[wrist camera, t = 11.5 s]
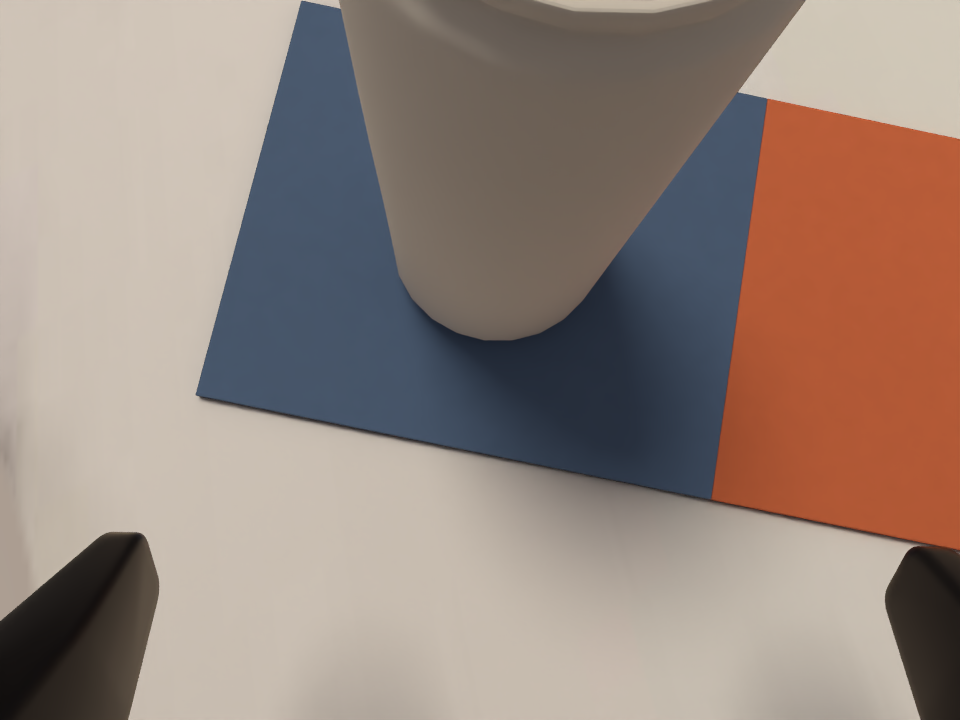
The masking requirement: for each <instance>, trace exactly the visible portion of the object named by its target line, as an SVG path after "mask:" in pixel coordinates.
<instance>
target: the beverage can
mask: <svg viewBox="0 0 960 720" xmlns="http://www.w3.org/2000/svg"><path fill="white" fill-rule="evenodd" d="M804 2H805V0H339V3H340V7H341V12H342V17H343V22H344V26H345V31H346V36H347V41H348V45H349V50H350V55H351V60H352V64H353V69H354V74H355V79H356V83H357V88H358V93H359V97H360V102H361V106H362V111H363V116H364V120H365V125H366V129H367V134H368V138H369V143H370V147H371V151H372V155H373V160H374V164H375V168H376V173H377V177H378V181H379V185H380V190H381V194H382V198H383V203H384V207H385V212H386V216H387V221H388V225H389V230H390V234H391V239H392V244H393V249H394V254H395V259H396V264H397V269H398V274H399V276H400V278H401V280H402V282H403V284H404V285H405V287H406V289H407V291H408V293H409V294H410V296H411V298H412V300H413V301H414V302H415V303H416V304H417V305H418V306H419V307H420V308H421V309H422V310H424V311H425V312H426V313H427V314H428V315H429V316H430V317H431V318H432V319H433V320H435V321H437V322H438V323H440V324H442V325H444V326H445V327H447V328H449V329H451V330H452V331H454V332H456V333H459V334H463V335H466V336H470V337H474V338H477V339H481V340H516V339H520V338H524V337H527V336H531V335H535V334H539V333H541V332H543V331H545V330H546V329H548V328H550V327H552V326H553V325H555V324H557V323H559V322H560V321H562V320H564V319H565V318H566V317H567V316H568V315H569V314H570V313H571V312H572V311H573V310H574V309H575V308H576V307H577V306H578V305H579V304H580V303H581V302H582V301H583V299H584V298H585V297H586V295H587V294H588V293H589V291H590V290H591V289H592V287H593V286H594V285H595V283H596V282H597V281H598V279H599V278H600V277H601V275H602V274H603V272H604V271H605V270H606V268H607V267H608V266H609V264H610V263H611V262H612V260H613V259H614V258H615V256H616V255H617V254H618V252H619V251H620V250H621V248H622V247H623V246H624V244H625V243H626V242H627V240H628V239H629V237H630V236H631V235H632V233H633V232H634V231H635V229H636V228H637V227H638V225H639V224H640V223H641V221H642V220H643V219H644V217H645V216H646V215H647V213H648V212H649V211H650V209H651V208H652V207H653V205H654V204H655V203H656V201H657V200H658V198H659V197H660V196H661V194H662V193H663V192H664V190H665V189H666V188H667V186H668V185H669V184H670V182H671V181H672V180H673V178H674V177H675V176H676V174H677V173H678V172H679V170H680V169H681V168H682V166H683V165H684V163H685V162H686V161H687V159H688V158H689V157H690V155H691V154H692V153H693V151H694V150H695V149H696V147H697V146H698V145H699V143H700V142H701V141H702V139H703V138H704V137H705V135H706V134H707V133H708V131H709V130H710V129H711V127H712V126H713V124H714V123H715V122H716V120H717V119H718V118H719V116H720V115H721V114H722V112H723V111H724V110H725V108H726V107H727V106H728V104H729V103H730V102H731V100H732V99H733V98H734V96H735V95H736V94H737V92H738V91H739V89H740V88H741V87H742V85H743V84H744V83H745V81H746V80H747V79H748V77H749V76H750V75H751V73H752V72H753V71H754V69H755V68H756V67H757V65H758V64H759V63H760V61H761V60H762V59H763V57H764V56H765V55H766V53H767V52H768V50H769V49H770V48H771V46H772V45H773V44H774V42H775V41H776V40H777V38H778V37H779V36H780V34H781V33H782V32H783V30H784V29H785V28H786V26H787V25H788V24H789V22H790V21H791V20H792V18H793V17H794V15H795V14H796V13H797V11H798V10H799V9H800V7H801V6H802V5H803V3H804Z"/></svg>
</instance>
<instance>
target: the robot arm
mask: <svg viewBox="0 0 960 720" xmlns="http://www.w3.org/2000/svg"><path fill="white" fill-rule="evenodd" d="M158 595H159V579H158V575H157V571H156V568H155V565H154V561H153V558H152V555H151V551H150V548H149V545H148V542H147V539H146V537H145V536H144V535H143V534H141V533H137V532H109V533H106V534H104V535H102V536H100V537H99V538H98V539H96V540H95V541H94V542H93V543H92V544H91V545H89V546H88V547H87V548H86V549H85V550H83V551H82V552H81V553H80V554H79V555H78V556H76V557H75V558H74V559H73V560H72V561H71V562H69V563H68V564H67V565H66V566H65V567H63V568H62V569H61V570H60V571H59V572H58V573H56V574H55V575H54V576H53V577H52V578H51V579H49V580H48V581H47V582H46V583H45V584H43V585H42V586H41V587H40V588H39V589H38V590H36V591H35V592H34V593H33V594H32V595H31V596H29V597H28V598H27V599H26V600H25V601H23V602H22V603H21V604H20V605H19V606H18V607H17V608H15V609H14V610H13V611H12V612H11V613H9V614H8V615H7V616H6V617H5V618H4V619H2V620H1V621H0V720H128V717H129V714H130V710H131V706H132V702H133V698H134V694H135V690H136V686H137V682H138V678H139V674H140V670H141V666H142V662H143V658H144V654H145V650H146V645H147V641H148V637H149V633H150V629H151V625H152V621H153V617H154V613H155V609H156V605H157V601H158ZM885 605H886V610H887V614H888V617H889V620H890V624H891V627H892V630H893V633H894V636H895V640H896V643H897V646H898V649H899V652H900V656H901V659H902V662H903V665H904V668H905V671H906V675H907V678H908V681H909V684H910V687H911V691H912V694H913V697H914V700H915V703H916V707H917V710H918V713H919V716H920V719H921V720H960V555H959V554H958V553H956V552H955V551H953V550H951V549H949V548H946V547H928V546H917V547H913V548H911V549H910V550H909V551H908V552H907V553H906V554H905V556H904V558H903V560H902V562H901V563H900V565H899V567H898V569H897V571H896V572H895V574H894V576H893V578H892V580H891V581H890V583H889V585H888V587H887V589H886V594H885Z"/></svg>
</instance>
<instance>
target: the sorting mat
mask: <svg viewBox="0 0 960 720" xmlns="http://www.w3.org/2000/svg"><path fill="white" fill-rule="evenodd" d="M196 395H197V396H200V397H205V398H210V399H215V400H220V401H225V402H230V403H235V404H240V405H244V406H249V407H254V408H259V409H264V410H269V411H274V412H279V413H284V414H289V415H294V416H299V417H304V418H309V419H314V420H319V421H323V422H328V423H333V424H338V425H343V426H348V427H353V428H358V429H363V430H368V431H373V432H378V433H383V434H388V435H393V436H398V437H402V438H407V439H412V440H417V441H422V442H427V443H432V444H437V445H442V446H447V447H452V448H457V449H462V450H467V451H472V452H477V453H482V454H486V455H491V456H496V457H501V458H506V459H511V460H516V461H521V462H526V463H531V464H536V465H541V466H546V467H551V468H556V469H561V470H565V471H570V472H575V473H580V474H585V475H590V476H595V477H600V478H605V479H610V480H615V481H620V482H625V483H630V484H635V485H640V486H644V487H649V488H654V489H659V490H664V491H669V492H674V493H679V494H684V495H689V496H694V497H699V498H704V499H709V500H714V501H719V502H724V503H728V504H733V505H738V506H743V507H748V508H753V509H758V510H763V511H768V512H773V513H778V514H783V515H788V516H793V517H798V518H803V519H807V520H812V521H817V522H822V523H827V524H832V525H837V526H842V527H847V528H852V529H857V530H862V531H867V532H872V533H877V534H882V535H886V536H891V537H896V538H901V539H906V540H911V541H916V542H921V543H926V544H931V545H936V546H941V547H946V548H951V549H956V550H960V139H956V138H952V137H947V136H942V135H937V134H933V133H928V132H923V131H918V130H914V129H909V128H904V127H899V126H895V125H890V124H885V123H880V122H876V121H871V120H866V119H861V118H857V117H852V116H847V115H842V114H838V113H833V112H828V111H823V110H819V109H814V108H809V107H804V106H800V105H795V104H790V103H785V102H781V101H776V100H771V99H766V98H762V97H757V96H752V95H747V94H743V93H738V92H737V94H736V95H735V96H734V98H733V99H732V100H731V102H730V103H729V104H728V106H727V107H726V108H725V110H724V111H723V112H722V114H721V115H720V116H719V118H718V119H717V120H716V122H715V123H714V124H713V126H712V127H711V129H710V130H709V131H708V133H707V134H706V135H705V137H704V138H703V139H702V141H701V142H700V143H699V145H698V146H697V147H696V149H695V150H694V151H693V153H692V154H691V155H690V157H689V158H688V159H687V161H686V162H685V163H684V165H683V166H682V168H681V169H680V170H679V172H678V173H677V174H676V176H675V177H674V178H673V180H672V181H671V182H670V184H669V185H668V186H667V188H666V189H665V190H664V192H663V193H662V194H661V196H660V197H659V198H658V200H657V201H656V203H655V204H654V205H653V207H652V208H651V209H650V211H649V212H648V213H647V215H646V216H645V217H644V219H643V220H642V221H641V223H640V224H639V225H638V227H637V228H636V229H635V231H634V232H633V233H632V235H631V236H630V237H629V239H628V240H627V242H626V243H625V244H624V246H623V247H622V248H621V250H620V251H619V252H618V254H617V255H616V256H615V258H614V259H613V260H612V262H611V263H610V264H609V266H608V267H607V268H606V270H605V271H604V272H603V274H602V275H601V277H600V278H599V279H598V281H597V282H596V283H595V285H594V286H593V287H592V289H591V290H590V291H589V293H588V294H587V295H586V297H585V298H584V299H583V301H582V302H581V303H580V304H579V305H578V306H577V307H576V308H575V309H574V310H573V311H572V312H571V313H570V314H569V315H568V316H567V317H566V318H565V319H564V320H562V321H560V322H559V323H557V324H555V325H553V326H552V327H550V328H548V329H546V330H545V331H543V332H541V333H539V334H535V335H531V336H527V337H524V338H520V339H516V340H481V339H477V338H474V337H470V336H466V335H463V334H459V333H456V332H454V331H452V330H451V329H449V328H447V327H445V326H444V325H442V324H440V323H438V322H437V321H435V320H433V319H432V318H431V317H430V316H429V315H428V314H427V313H426V312H425V311H424V310H422V309H421V308H420V307H419V306H418V305H417V304H416V303H415V302H414V301H413V300H412V298H411V296H410V294H409V293H408V291H407V289H406V287H405V285H404V284H403V282H402V280H401V278H400V276H399V274H398V269H397V264H396V259H395V254H394V249H393V244H392V239H391V234H390V230H389V225H388V221H387V216H386V212H385V207H384V203H383V198H382V194H381V190H380V185H379V181H378V177H377V173H376V168H375V164H374V160H373V155H372V151H371V147H370V143H369V138H368V134H367V129H366V125H365V120H364V116H363V111H362V106H361V102H360V97H359V93H358V88H357V83H356V79H355V74H354V69H353V64H352V60H351V55H350V50H349V45H348V41H347V36H346V31H345V26H344V22H343V17H342V12H341V9H339V8H334V7H330V6H325V5H320V4H315V3H311V2H306V1H301V4H300V8H299V12H298V16H297V19H296V23H295V27H294V31H293V34H292V38H291V42H290V45H289V49H288V53H287V57H286V60H285V64H284V68H283V72H282V75H281V79H280V83H279V86H278V90H277V94H276V98H275V101H274V105H273V109H272V112H271V116H270V120H269V124H268V127H267V131H266V135H265V139H264V142H263V146H262V150H261V153H260V157H259V161H258V165H257V168H256V172H255V176H254V179H253V183H252V187H251V191H250V194H249V198H248V202H247V206H246V209H245V213H244V217H243V220H242V224H241V228H240V232H239V235H238V239H237V243H236V246H235V250H234V254H233V258H232V261H231V265H230V269H229V273H228V276H227V280H226V284H225V287H224V291H223V295H222V299H221V302H220V306H219V310H218V314H217V317H216V321H215V325H214V328H213V332H212V336H211V340H210V343H209V347H208V351H207V354H206V358H205V362H204V366H203V369H202V373H201V377H200V381H199V384H198V388H197V392H196Z"/></svg>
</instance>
